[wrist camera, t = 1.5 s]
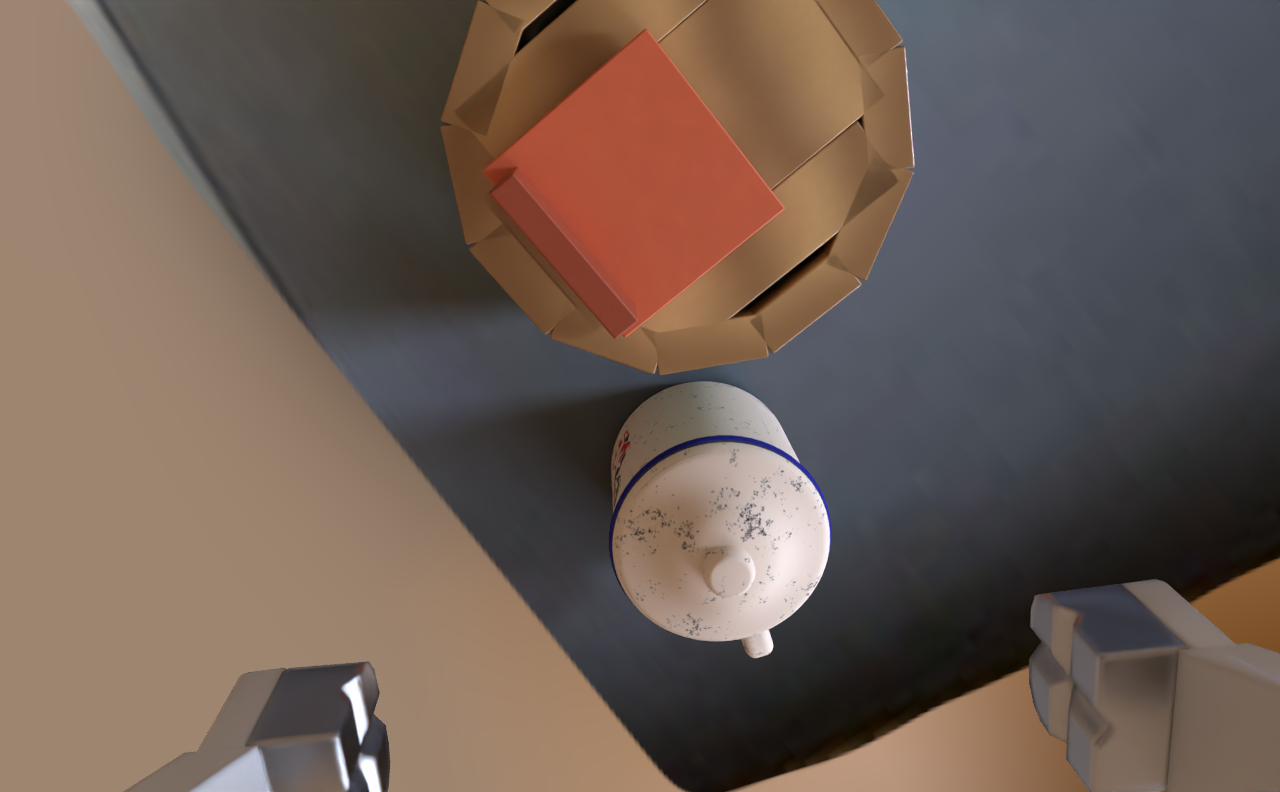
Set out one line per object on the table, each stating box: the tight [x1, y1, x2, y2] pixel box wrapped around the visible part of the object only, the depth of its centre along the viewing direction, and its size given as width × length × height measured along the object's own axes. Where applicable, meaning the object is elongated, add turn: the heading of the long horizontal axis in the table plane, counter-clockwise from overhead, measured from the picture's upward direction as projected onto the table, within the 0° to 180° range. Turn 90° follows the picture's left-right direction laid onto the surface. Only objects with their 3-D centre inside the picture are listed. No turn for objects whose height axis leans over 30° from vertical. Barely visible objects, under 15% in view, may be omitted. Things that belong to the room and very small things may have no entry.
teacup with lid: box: [609, 381, 831, 658], centre depth 45 cm, size 12×9×12 cm
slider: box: [483, 29, 784, 339], centre depth 33 cm, size 7×7×3 cm
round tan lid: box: [440, 0, 915, 375], centre depth 35 cm, size 15×15×1 cm
